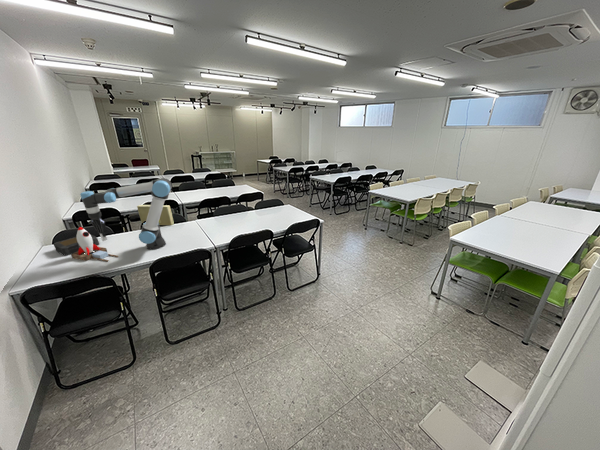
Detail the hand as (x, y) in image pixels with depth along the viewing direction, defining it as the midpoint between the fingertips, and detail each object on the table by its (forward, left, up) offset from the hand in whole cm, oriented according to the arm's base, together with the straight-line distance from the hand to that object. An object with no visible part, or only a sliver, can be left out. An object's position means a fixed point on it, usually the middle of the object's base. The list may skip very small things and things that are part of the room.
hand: (104, 240), depth 185 cm
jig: (+15, 0, -17) cm, 22 cm away
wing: (+11, 0, -17) cm, 20 cm away
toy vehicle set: (+25, -71, -17) cm, 77 cm away
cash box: (+48, -6, -17) cm, 51 cm away
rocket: (+23, 0, -17) cm, 28 cm away
